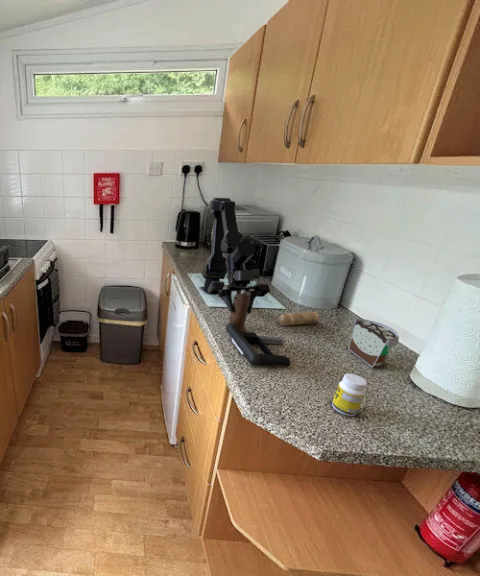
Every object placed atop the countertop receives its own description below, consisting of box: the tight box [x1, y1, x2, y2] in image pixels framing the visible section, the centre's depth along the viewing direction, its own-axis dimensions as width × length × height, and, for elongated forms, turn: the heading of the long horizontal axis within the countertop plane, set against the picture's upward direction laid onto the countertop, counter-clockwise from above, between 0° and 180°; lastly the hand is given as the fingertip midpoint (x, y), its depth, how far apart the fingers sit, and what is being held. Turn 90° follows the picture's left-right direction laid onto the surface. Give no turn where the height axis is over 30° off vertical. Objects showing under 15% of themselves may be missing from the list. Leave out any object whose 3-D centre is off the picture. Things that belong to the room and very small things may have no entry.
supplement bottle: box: [331, 373, 368, 417], centre depth 70 cm, size 5×5×8 cm
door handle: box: [224, 323, 291, 367], centre depth 95 cm, size 3×20×16 cm
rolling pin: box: [278, 311, 320, 327], centre depth 109 cm, size 15×4×4 cm, turn 100°
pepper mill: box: [228, 290, 250, 332], centre depth 104 cm, size 5×5×14 cm
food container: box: [347, 318, 400, 369], centre depth 89 cm, size 12×6×10 cm, turn 179°
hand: (240, 313), depth 103 cm, fingers open, 5 cm apart
